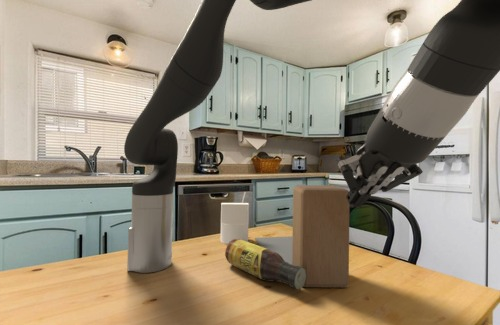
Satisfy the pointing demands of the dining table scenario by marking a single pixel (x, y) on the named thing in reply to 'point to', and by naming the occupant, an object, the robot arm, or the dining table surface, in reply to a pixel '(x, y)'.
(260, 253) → the sauce bottle
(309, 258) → the block
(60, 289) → the dining table surface
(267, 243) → the mat
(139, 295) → the dining table surface
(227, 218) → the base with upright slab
